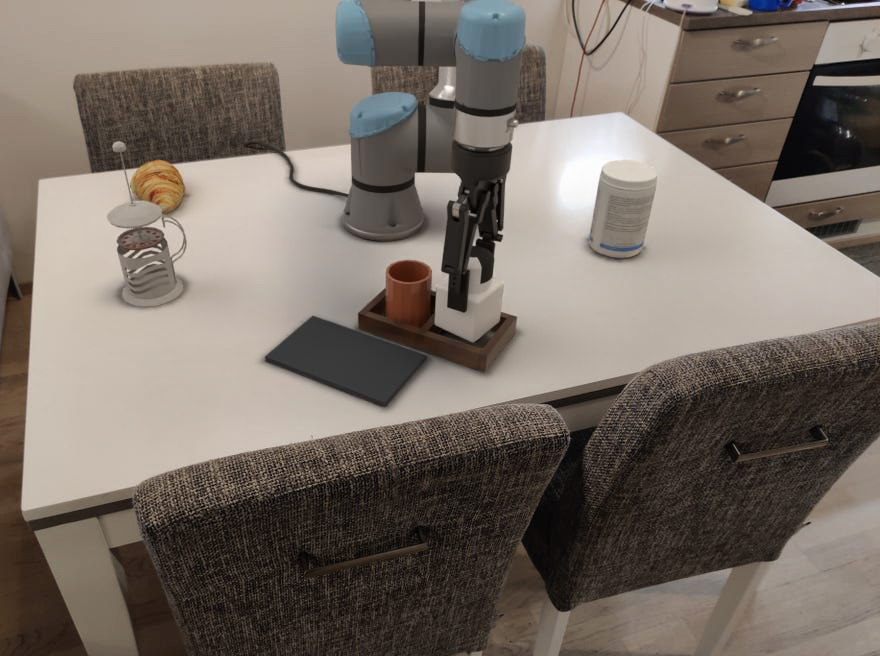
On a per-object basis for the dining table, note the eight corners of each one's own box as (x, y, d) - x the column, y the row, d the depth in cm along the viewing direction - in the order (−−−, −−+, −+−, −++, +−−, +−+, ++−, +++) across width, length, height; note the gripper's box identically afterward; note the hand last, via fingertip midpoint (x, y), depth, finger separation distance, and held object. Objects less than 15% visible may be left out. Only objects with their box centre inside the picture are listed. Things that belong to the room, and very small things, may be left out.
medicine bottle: (461, 304, 111) (466, 235, 104) (500, 322, 108) (509, 251, 100) (433, 325, 107) (436, 254, 99) (473, 344, 103) (480, 272, 96)
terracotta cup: (377, 326, 111) (377, 275, 106) (399, 304, 116) (400, 255, 111) (416, 339, 109) (418, 288, 103) (437, 316, 114) (439, 267, 108)
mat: (265, 360, 104) (264, 356, 104) (313, 319, 113) (312, 315, 112) (385, 407, 97) (384, 402, 96) (426, 359, 105) (427, 354, 104)
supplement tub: (652, 251, 131) (672, 173, 122) (615, 265, 126) (633, 186, 117) (612, 229, 137) (628, 154, 128) (576, 242, 133) (589, 166, 124)
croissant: (188, 230, 142) (201, 193, 139) (137, 217, 136) (149, 178, 133) (165, 186, 157) (177, 152, 154) (118, 172, 151) (129, 136, 148)
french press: (119, 280, 121) (80, 133, 106) (190, 268, 124) (162, 124, 109) (123, 311, 114) (82, 159, 99) (198, 297, 117) (170, 148, 102)
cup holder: (358, 329, 111) (357, 312, 109) (394, 294, 118) (394, 278, 117) (485, 372, 103) (486, 356, 101) (515, 332, 110) (517, 316, 109)
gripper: (475, 178, 81) (462, 339, 96) (541, 119, 95) (521, 268, 110) (416, 163, 84) (412, 323, 98) (488, 109, 98) (476, 255, 112)
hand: (469, 294), depth 104 cm, fingers closed on medicine bottle, 8 cm apart
